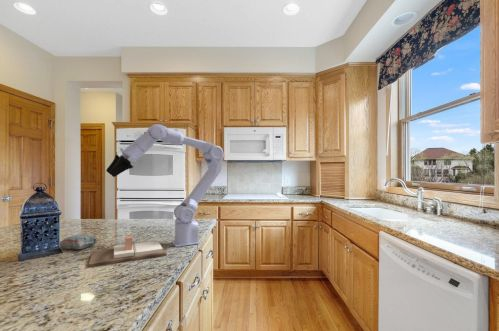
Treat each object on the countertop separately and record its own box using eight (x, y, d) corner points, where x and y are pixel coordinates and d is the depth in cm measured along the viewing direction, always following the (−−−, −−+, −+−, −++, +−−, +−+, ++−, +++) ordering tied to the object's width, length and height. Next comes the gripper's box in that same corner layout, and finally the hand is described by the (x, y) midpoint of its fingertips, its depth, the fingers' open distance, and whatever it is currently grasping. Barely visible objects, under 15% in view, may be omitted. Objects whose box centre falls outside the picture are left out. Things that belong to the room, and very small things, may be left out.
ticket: (157, 243, 97) (158, 240, 97) (162, 252, 87) (162, 248, 87) (132, 247, 92) (133, 243, 92) (134, 256, 83) (135, 252, 83)
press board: (159, 245, 98) (160, 242, 98) (166, 255, 86) (166, 252, 86) (92, 253, 87) (92, 250, 87) (88, 267, 75) (88, 264, 75)
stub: (132, 246, 92) (132, 232, 92) (134, 255, 82) (134, 239, 83) (114, 248, 89) (114, 234, 89) (113, 258, 80) (114, 242, 80)
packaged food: (80, 253, 88) (81, 239, 88) (52, 251, 90) (53, 237, 90) (99, 246, 97) (99, 233, 97) (73, 244, 99) (73, 232, 99)
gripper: (126, 140, 96) (98, 164, 91) (134, 140, 85) (103, 168, 80) (139, 152, 100) (113, 176, 95) (149, 154, 88) (119, 182, 83)
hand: (109, 173), depth 88 cm, fingers open, 7 cm apart
